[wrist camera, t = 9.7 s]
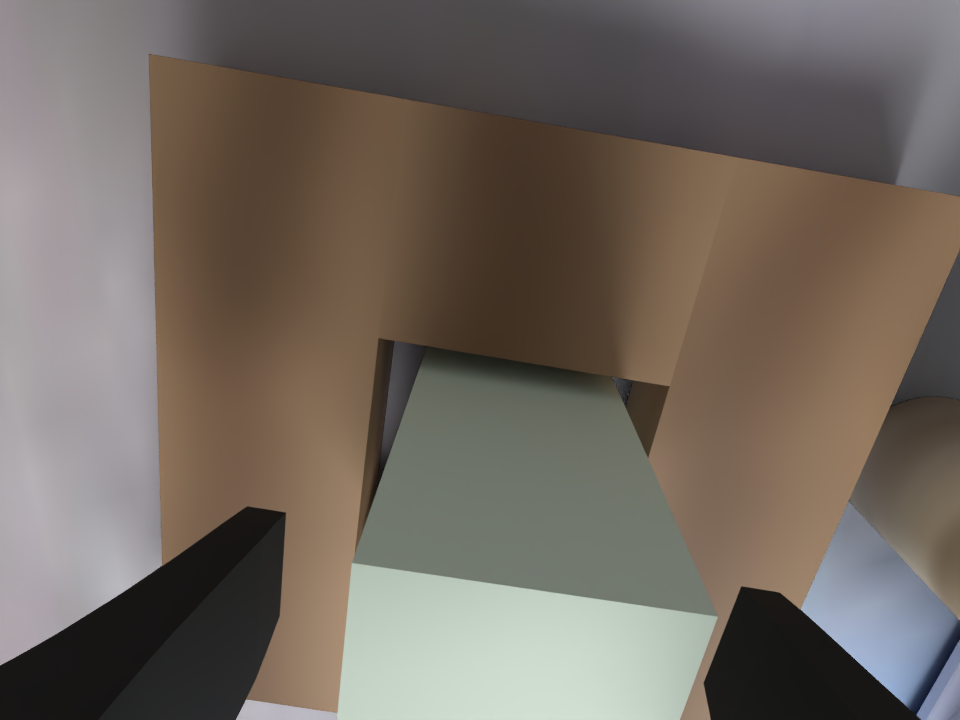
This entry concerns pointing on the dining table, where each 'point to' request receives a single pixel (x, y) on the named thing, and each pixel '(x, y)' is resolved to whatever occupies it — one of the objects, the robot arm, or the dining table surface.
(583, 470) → the square peg
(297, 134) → the socket block
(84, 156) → the dining table surface
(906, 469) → the birch dowel
